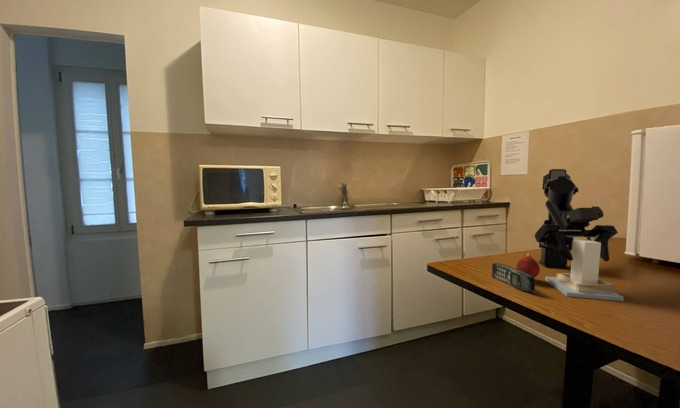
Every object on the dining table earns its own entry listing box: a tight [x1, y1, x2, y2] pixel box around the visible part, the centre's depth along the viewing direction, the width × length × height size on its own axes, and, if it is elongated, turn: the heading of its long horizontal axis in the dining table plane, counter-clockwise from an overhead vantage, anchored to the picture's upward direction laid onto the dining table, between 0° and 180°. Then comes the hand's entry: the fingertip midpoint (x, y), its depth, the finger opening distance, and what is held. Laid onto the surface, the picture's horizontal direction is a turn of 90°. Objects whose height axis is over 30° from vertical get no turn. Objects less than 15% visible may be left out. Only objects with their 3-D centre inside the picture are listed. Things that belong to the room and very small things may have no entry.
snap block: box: [570, 238, 601, 284], centre depth 75 cm, size 4×4×12 cm
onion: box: [515, 253, 541, 279], centre depth 82 cm, size 6×6×8 cm
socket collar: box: [555, 272, 616, 293], centre depth 76 cm, size 9×9×2 cm
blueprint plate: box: [545, 275, 625, 302], centre depth 76 cm, size 12×12×1 cm
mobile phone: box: [491, 262, 541, 296], centre depth 79 cm, size 5×3×15 cm
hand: (589, 260), depth 74 cm, fingers open, 9 cm apart
